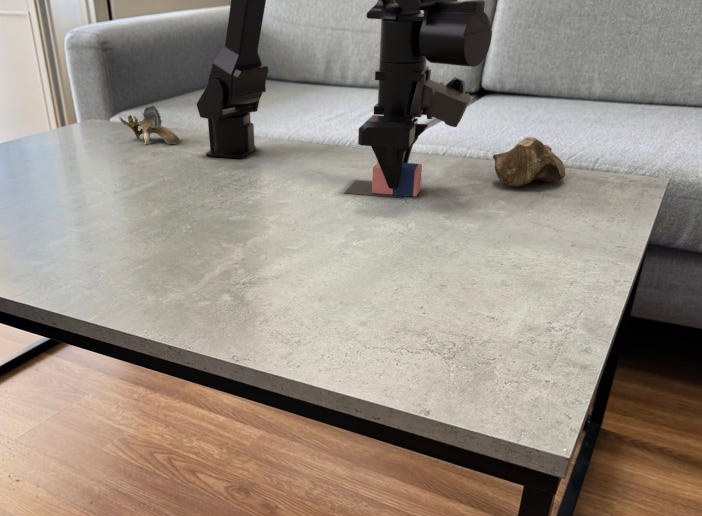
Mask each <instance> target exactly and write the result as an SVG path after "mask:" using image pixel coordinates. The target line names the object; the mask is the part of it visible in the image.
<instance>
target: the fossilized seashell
mask: <svg viewBox="0 0 702 516" xmlns="http://www.w3.org/2000/svg"><path fill="white" fill-rule="evenodd" d="M492 158H493V160H494V171H495V174H496V177H498V179H500V181H502V182H503V183H505V184H506V185H508V186H511V187H522V186H525V185H528V184H530V183H531V182H533V181H538V182H549V183H554V182H559V181H561V180H562V179H564V178H565V176H566V166H565V164H564V162H563V161H562V160H561V159H560V158H559V156H558V155H557V154H555V152H553V151H552V147H551V146H549V145H548V144H544V142H542V141H540V140H539V139H538V138H536V137H533V136H527V137H524V138H523V139H521V140H519V141H518V143H516V145H514V147H513V148H511V149H510V150H508V151H505V152H502V153H495V154H493V155H492Z"/></svg>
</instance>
